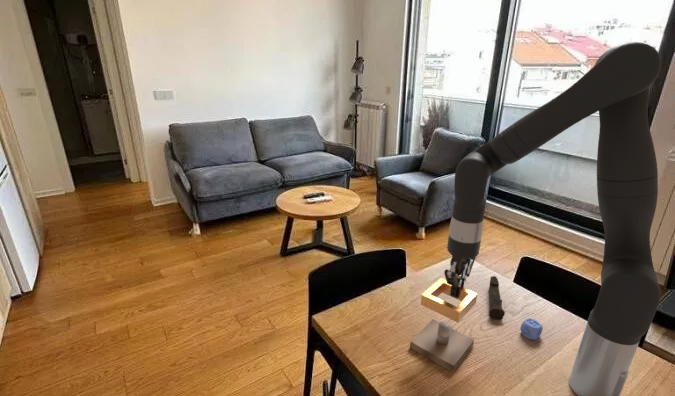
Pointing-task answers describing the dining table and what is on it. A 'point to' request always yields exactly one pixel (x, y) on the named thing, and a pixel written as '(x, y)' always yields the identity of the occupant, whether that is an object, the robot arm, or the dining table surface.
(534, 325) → the decorative dice
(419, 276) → the dining table surface
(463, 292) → the link
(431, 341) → the keeper
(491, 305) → the hand tool
